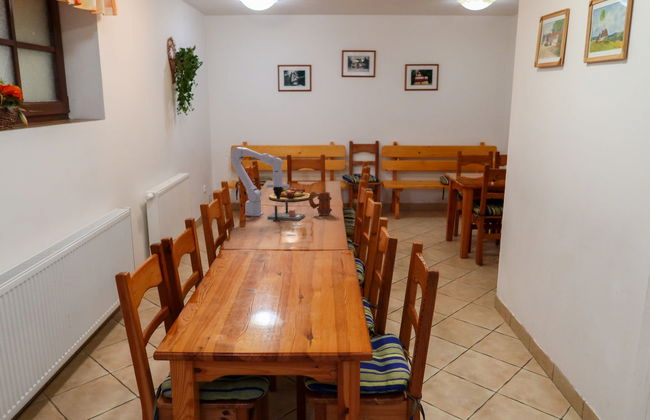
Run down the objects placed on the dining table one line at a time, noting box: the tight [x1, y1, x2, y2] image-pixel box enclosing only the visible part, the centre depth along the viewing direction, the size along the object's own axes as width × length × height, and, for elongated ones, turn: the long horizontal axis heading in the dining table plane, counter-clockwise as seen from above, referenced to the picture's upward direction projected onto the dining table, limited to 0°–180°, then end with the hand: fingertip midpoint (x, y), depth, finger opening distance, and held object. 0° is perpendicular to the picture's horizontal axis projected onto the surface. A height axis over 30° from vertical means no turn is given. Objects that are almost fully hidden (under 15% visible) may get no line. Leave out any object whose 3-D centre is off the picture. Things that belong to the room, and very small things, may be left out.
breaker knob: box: [288, 208, 296, 216], centre depth 312 cm, size 3×3×4 cm
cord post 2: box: [283, 200, 289, 213], centre depth 322 cm, size 4×4×9 cm
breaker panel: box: [266, 212, 306, 222], centre depth 314 cm, size 20×12×2 cm, turn 73°
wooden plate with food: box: [268, 186, 310, 202], centre depth 377 cm, size 32×32×8 cm
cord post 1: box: [272, 205, 280, 223], centre depth 305 cm, size 4×4×9 cm
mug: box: [308, 190, 333, 216], centre depth 319 cm, size 15×8×15 cm, turn 84°
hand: (278, 199), depth 318 cm, fingers closed
